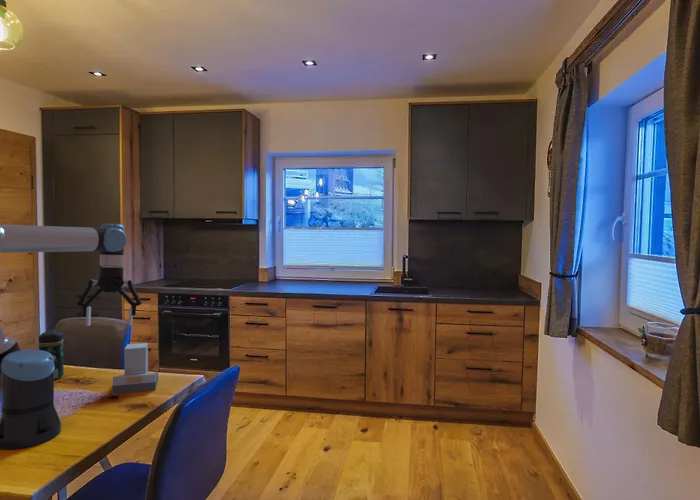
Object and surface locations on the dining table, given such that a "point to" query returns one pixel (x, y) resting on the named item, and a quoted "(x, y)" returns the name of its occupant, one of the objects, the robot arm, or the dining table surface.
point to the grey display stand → (135, 383)
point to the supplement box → (136, 359)
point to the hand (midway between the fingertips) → (109, 325)
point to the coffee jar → (53, 349)
